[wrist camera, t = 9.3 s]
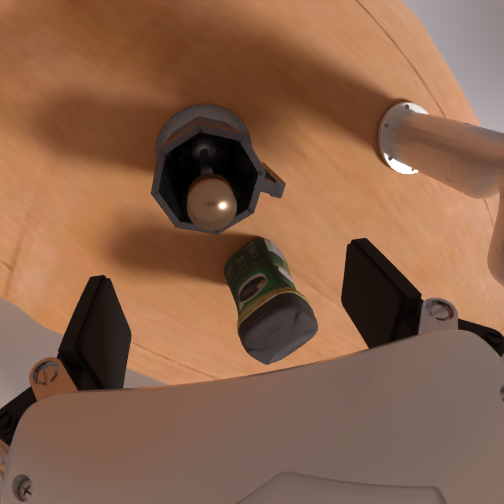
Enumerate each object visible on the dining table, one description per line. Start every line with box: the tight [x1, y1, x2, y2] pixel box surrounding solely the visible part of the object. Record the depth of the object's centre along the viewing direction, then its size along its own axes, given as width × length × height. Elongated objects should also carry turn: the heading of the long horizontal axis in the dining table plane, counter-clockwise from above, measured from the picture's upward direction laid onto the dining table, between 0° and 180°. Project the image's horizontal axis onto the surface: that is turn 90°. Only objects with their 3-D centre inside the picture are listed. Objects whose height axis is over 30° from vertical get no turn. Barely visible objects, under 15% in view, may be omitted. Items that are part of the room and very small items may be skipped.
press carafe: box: [151, 105, 286, 235], centre depth 32 cm, size 14×13×17 cm
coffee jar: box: [224, 239, 318, 365], centre depth 41 cm, size 10×8×19 cm
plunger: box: [177, 132, 237, 231], centre depth 29 cm, size 7×7×22 cm
